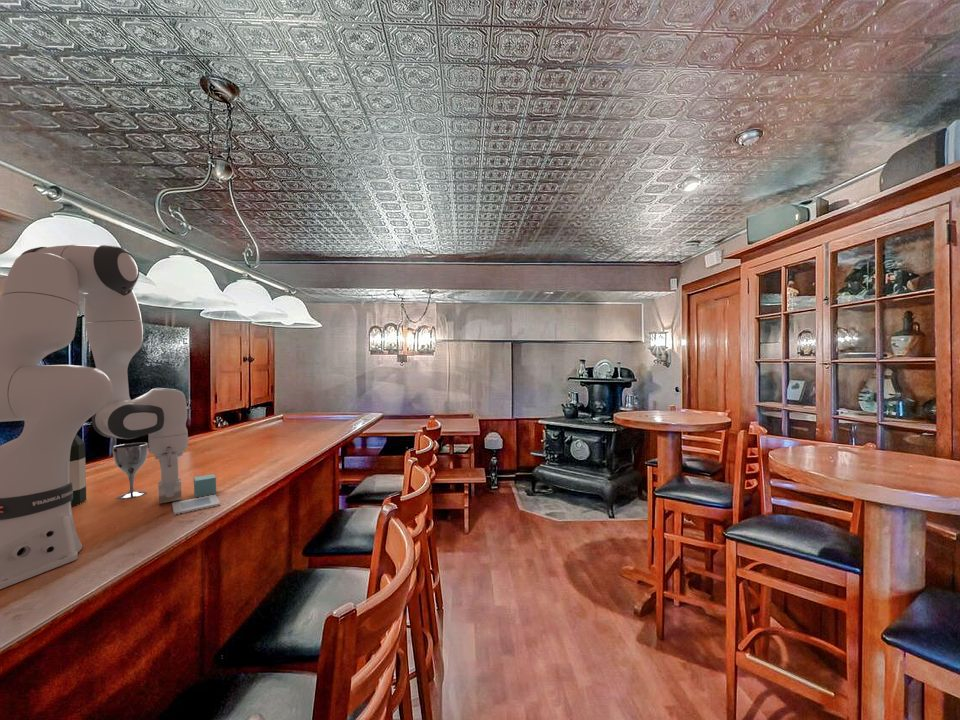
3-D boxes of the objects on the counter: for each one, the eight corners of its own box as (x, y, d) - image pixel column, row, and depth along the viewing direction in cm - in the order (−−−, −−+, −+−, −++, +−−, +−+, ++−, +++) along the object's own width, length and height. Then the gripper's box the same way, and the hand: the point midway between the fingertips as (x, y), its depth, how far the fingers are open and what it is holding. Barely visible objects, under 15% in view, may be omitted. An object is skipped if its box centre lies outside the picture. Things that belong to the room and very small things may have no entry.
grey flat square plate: (220, 505, 109) (220, 503, 109) (173, 515, 102) (173, 512, 102) (215, 496, 116) (215, 494, 116) (172, 504, 110) (172, 502, 110)
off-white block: (181, 499, 113) (181, 481, 113) (158, 503, 110) (158, 485, 110) (180, 495, 117) (180, 478, 117) (158, 499, 114) (158, 481, 114)
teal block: (216, 494, 119) (215, 477, 119) (195, 498, 116) (195, 481, 116) (214, 490, 123) (213, 474, 123) (194, 494, 119) (193, 477, 119)
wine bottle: (64, 509, 108) (61, 399, 108) (34, 510, 109) (31, 400, 108) (94, 499, 117) (92, 396, 117) (66, 499, 117) (64, 397, 117)
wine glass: (156, 491, 123) (154, 442, 123) (130, 500, 115) (128, 448, 115) (133, 490, 124) (132, 442, 124) (106, 499, 116) (104, 447, 116)
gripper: (184, 448, 107) (185, 500, 107) (181, 438, 123) (182, 483, 123) (153, 452, 103) (154, 505, 103) (154, 441, 119) (155, 488, 119)
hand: (169, 493), depth 113 cm, fingers closed on off-white block, 5 cm apart
